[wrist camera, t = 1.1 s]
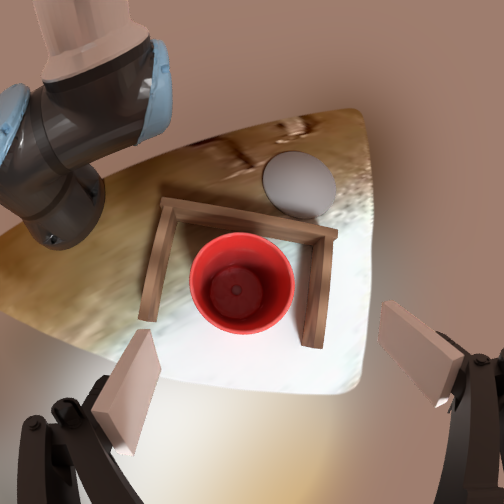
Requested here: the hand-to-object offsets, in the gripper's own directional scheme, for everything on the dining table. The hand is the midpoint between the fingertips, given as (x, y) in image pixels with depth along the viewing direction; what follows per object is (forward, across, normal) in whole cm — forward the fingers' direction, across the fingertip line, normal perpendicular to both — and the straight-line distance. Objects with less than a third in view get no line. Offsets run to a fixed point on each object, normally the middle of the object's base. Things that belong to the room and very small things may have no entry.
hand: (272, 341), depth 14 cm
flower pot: (+22, -2, -6) cm, 23 cm away
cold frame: (+23, -2, -4) cm, 23 cm away
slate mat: (+30, +10, +8) cm, 33 cm away
